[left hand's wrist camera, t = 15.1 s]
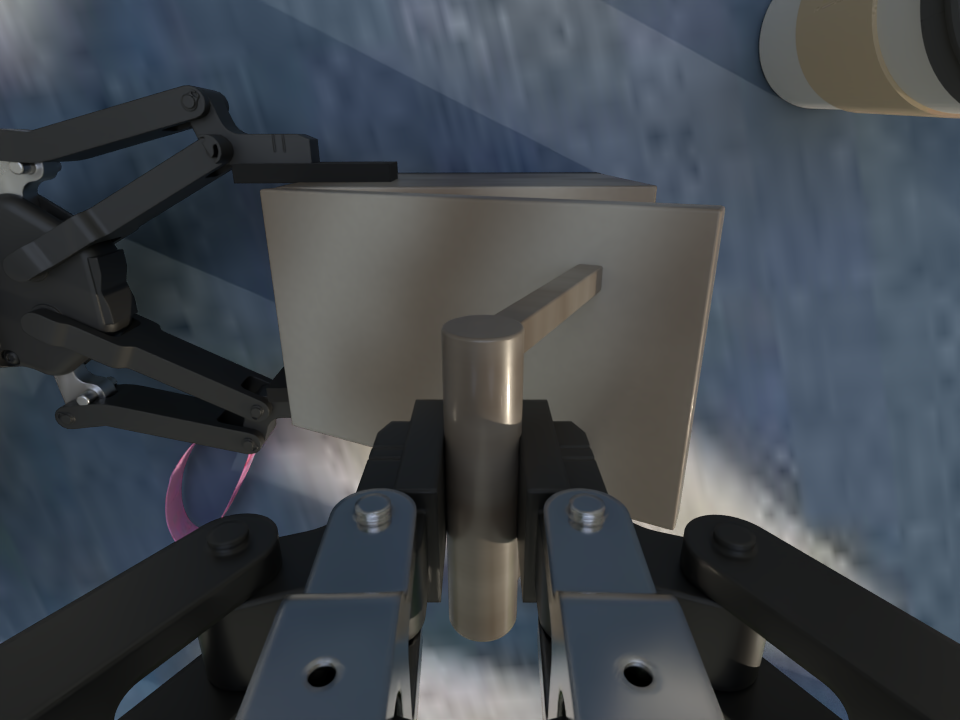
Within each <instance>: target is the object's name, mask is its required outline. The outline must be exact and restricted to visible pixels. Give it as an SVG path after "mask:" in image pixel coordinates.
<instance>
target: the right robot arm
mask: <svg viewBox="0 0 960 720" xmlns="http://www.w3.org/2000/svg"><path fill="white" fill-rule="evenodd" d="M228 111H229V105H228V101H227V100H226V98H225V96H223V95H222V94H221V93H220V92H217V91H214V90H209V89H204V88H199V87H194V86H190V85H187V86H181V87H177V88H174V89H170V90H167V91H164V92H160V93H157V94H154V95H150V96H147V97H143V98H140V99H137V100H133V101H130V102H127V103H123V104H120V105H116V106H113V107H110V108H106V109H103V110H100V111H96V112H93V113H89V114H86V115H83V116H79V117H76V118H73V119H69V120H66V121H62V122H59V123H56V124H52V125H49V126H45V127H42V128H39V129H35V130H26V129H0V368H2V367H16V366H24V367H29V368H33V369H35V370H38V371H40V372H42V373H45V374H48V375H53V376H54V377H55V379H56V382H57V384H58V387H59V389H60V392H61V394H62V396H63V399H64V401H65V405H63V406H62V407H60V408H59V409H58V410H57V411H56V413H55V418H56V421H57V422H58V424H60V425H61V426H62V427H64V428H67V429H78V428H88V427H98V426H110V427H115V428H120V429H125V430H130V431H135V432H140V433H145V434H150V435H155V436H160V437H165V438H170V439H175V440H180V441H185V442H190V443H195V444H200V445H205V446H210V447H215V448H220V449H225V450H230V451H235V452H240V453H245V454H255V453H257V452H258V451H259V450H260V449H261V447H262V446H263V444H264V443H265V441H266V440H267V438H268V437H269V435H270V434H271V432H272V431H273V430H274V428H275V426H276V419H277V418H291V412H290V404H289V397H288V390H287V383H286V376H285V368H284V367H283V368H282V369H281V370H280V372H279V373H278V374H277V375H276V377H275V378H274V379H273V380H272V379H270V378H267V377H265V376H263V375H261V374H258V373H256V372H254V371H252V370H249V369H247V368H245V367H243V366H240V365H238V364H236V363H234V362H231V361H229V360H227V359H225V358H222V357H220V356H218V355H216V354H213V353H211V352H209V351H207V350H204V349H202V348H200V347H198V346H195V345H193V344H191V343H189V342H186V341H184V340H182V339H180V338H177V337H175V336H173V335H171V334H168V333H166V332H164V331H162V330H161V328H160V326H159V325H158V324H157V323H155V322H153V321H151V320H149V319H146V318H144V317H142V316H140V315H137V314H135V313H137V312H138V311H137V307H136V302H135V298H134V296H133V294H132V292H131V290H130V288H129V286H128V284H127V282H126V274H127V264H126V260H125V255H124V251H123V250H117V248H116V246H115V245H114V244H115V243H117V242H118V241H120V240H122V239H123V238H125V237H126V236H128V235H130V234H131V233H133V232H135V231H136V230H137V229H138V227H139V226H141V225H143V224H144V223H146V222H147V221H149V220H151V219H152V218H154V217H156V216H157V215H159V214H160V213H162V212H164V211H165V210H167V209H169V208H170V207H172V206H173V205H175V204H177V203H178V202H180V201H182V200H183V199H185V198H186V197H188V196H190V195H191V194H193V193H195V192H196V191H198V190H199V189H201V188H203V187H204V186H206V185H208V184H209V183H211V182H212V181H214V180H216V179H217V178H219V177H221V176H222V175H224V174H225V173H227V172H229V171H230V170H232V172H233V178H234V183H298V182H392V181H394V180H396V179H398V169H397V162H320V158H319V148H318V139H315V138H313V137H311V136H308V135H305V134H247V133H244V132H242V131H241V130H239V129H238V128H237V126H236V125H235V124H234V122H233V120H232V118H231V116H230V114H229V112H228ZM192 128H193V130H194V132H195V134H196V135H197V137H198V139H199V140H197V141H196V142H194V143H193V144H191V145H190V146H188V147H186V148H185V149H183V150H182V151H180V152H178V153H177V154H175V155H174V156H172V157H171V158H169V159H167V160H166V161H164V162H163V163H161V164H160V165H158V166H156V167H155V168H153V169H152V170H150V171H148V172H147V173H145V174H144V175H142V176H141V177H139V178H137V179H136V180H134V181H133V182H131V183H130V184H128V185H126V186H125V187H123V188H122V189H120V190H118V191H117V192H115V193H114V194H112V195H111V196H109V197H107V198H106V199H104V200H103V201H101V202H99V203H98V204H96V205H95V206H93V207H92V208H90V209H88V210H86V211H83V212H81V213H78V214H76V215H72V214H71V213H69V212H67V211H66V210H64V209H63V208H61V207H59V206H58V205H56V204H54V203H53V202H51V201H49V200H48V199H46V198H45V197H43V196H41V195H39V194H38V190H37V189H38V186H39V184H40V183H41V182H43V181H46V180H51V179H53V178H55V176H56V175H57V172H59V171H60V170H61V163H60V162H64V161H78V160H84V159H88V158H92V157H95V156H99V155H102V154H106V153H109V152H113V151H116V150H119V149H123V148H126V147H130V146H133V145H137V144H140V143H144V142H147V141H150V140H154V139H157V138H161V137H164V136H168V135H171V134H175V133H178V132H182V131H185V130H188V129H192ZM120 335H121V336H120ZM91 359H92V360H95V361H97V362H100V363H102V364H104V365H107V366H109V367H112V368H129V369H132V370H134V371H136V372H139V373H141V374H143V375H146V376H148V377H151V378H153V379H155V380H158V381H160V382H162V383H165V384H167V385H169V386H172V387H174V388H176V389H179V390H181V391H183V392H186V393H188V394H190V395H193V396H195V397H193V396H188V395H183V394H179V393H174V392H169V391H164V390H159V389H155V388H150V387H145V386H139V385H131V384H119V385H117V381H116V379H115V378H113V377H107V378H105V377H101V376H96V375H93V374H92V373H90V372H89V371H88V370H87V368H86V367H85V364H87V363H88V362H89V361H90V360H91Z"/></svg>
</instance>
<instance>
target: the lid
mask: <svg viewBox="0 0 960 720" xmlns="http://www.w3.org/2000/svg"><path fill="white" fill-rule="evenodd" d="M260 196H261V203H262V210H263V217H264V224H265V232H266V239H267V246H268V253H269V260H270V268H271V275H272V282H273V289H274V296H275V304H276V311H277V318H278V325H279V332H280V340H281V347H282V354H283V361H284V368H285V376H286V383H287V390H288V397H289V404H290V412H291V419H292V424H293V425H294V426H297V427H301V428H304V429H308V430H312V431H315V432H319V433H322V434H326V435H330V436H333V437H337V438H341V439H344V440H348V441H351V442H355V443H359V444H362V445H366V446H369V447H373V444H374V441H375V438H376V436H377V433H378V432H379V431H380V430H381V429H383V428H384V427H385V426H386V425H387V424H389V423H390V422H391V421H410V420H411V416H412V412H413V408H414V404H415V401H416V399H443V418H444V448H445V484H446V520H447V558H448V593H449V618H450V622H451V624H452V626H453V627H454V629H455V630H456V631H457V632H458V633H459V634H460V635H462V636H463V637H465V638H467V639H470V640H473V641H479V642H486V641H493V640H496V639H499V638H501V637H503V636H504V635H506V634H507V633H508V632H509V631H510V630H511V628H512V627H513V625H514V623H515V621H516V615H517V581H518V579H519V577H520V566H519V555H518V544H517V516H518V481H519V446H520V436H521V434H522V404H523V399H547V401H548V404H549V408H550V412H551V416H552V419H553V421H572V422H573V423H574V424H576V425H577V426H578V427H579V428H580V429H582V430H583V431H584V432H585V433H586V436H587V438H588V441H589V444H590V449H592V452H593V454H594V460H596V463H597V465H598V468H599V471H600V473H601V476H602V479H603V482H604V484H605V487H606V490H607V492H608V494H609V495H611V496H613V497H615V498H616V499H618V500H619V501H620V502H621V503H622V504H624V506H625V507H626V508H627V510H628V512H629V514H630V517H631V519H633V520H637V521H640V522H644V523H648V524H651V525H655V526H659V527H662V528H666V529H669V530H673V529H674V528H675V525H676V521H677V518H678V514H679V509H680V502H681V496H682V489H683V483H684V476H685V470H686V463H687V457H688V450H689V443H690V437H691V430H692V424H693V417H694V411H695V404H696V397H697V391H698V384H699V378H700V371H701V365H702V358H703V352H704V345H705V338H706V332H707V325H708V319H709V312H710V306H711V299H712V292H713V286H714V279H715V273H716V266H717V260H718V253H719V247H720V240H721V233H722V227H723V220H724V214H725V207H724V206H721V205H696V204H672V203H647V202H623V201H598V200H573V199H549V198H524V197H500V196H475V195H450V194H426V193H401V192H377V191H352V190H327V189H303V188H270V189H262V190H260Z"/></svg>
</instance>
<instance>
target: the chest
mask: <svg viewBox="0 0 960 720" xmlns="http://www.w3.org/2000/svg"><path fill="white" fill-rule="evenodd" d="M276 188H303V189H327V190H352V191H377V192H401V193H426V194H450V195H475V196H500V197H524V198H549V199H573V200H598V201H623V202H647V203H655V200H656V190H657V187H656V186H655V185H650V184H645V183H641V182H636V181H631V180H627V179H622V178H618V177H613V176H608V175H604V174H601V173H597V172H529V173H398V179H396V180H394V181H392V182H298V183H293V184H289V185H284V186H280V187H276Z"/></svg>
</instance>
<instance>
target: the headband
mask: <svg viewBox="0 0 960 720" xmlns="http://www.w3.org/2000/svg"><path fill="white" fill-rule="evenodd" d="M194 445H195V443H193V444H192V445H191V446H190V447H189V449H188V450H187V451H186V452H185V454H184V455H183V456H182V458H181V459H180V461H179V463H178V464H177V466H176V468H175V469H174V471H173V472H172V475H171V477H170V480H169V486H168V490H167V495H166V504H165V512H166V520H167V525H168V528H169V531H170V533H171V535H172V537H173V539H174V540H175V542H176V541H177V540H179V539H181V538H182V537H184V536H186V535H187V534H189V533H191V532H193V531H194V530H196V529H198V528H199V527H197V526H195V525H194V524H193V523H192V522H191V521H190V520H189V518H188V516H187V515H186V512H185V510H184V506H183V502H182V493H181V486H182V477H183V472H184V468H185V465H186V462H187V459H188V457H189V455H190V453H191V451H192V449H193V447H194ZM254 455H255V454H249V455H248V458H247V461H246V464H245V467H244V469H243V472H242V474H241V477H240V479H239V481H238V484H237V486H236V488H235V490H234V493H233V495H232V497H231V499H230V501H229V503H228V505H227V507H226V509H225V511H224V513H223V515H222V517H223V516H224V515H225V513H226V512H227V510H228V509H229V507H230V505H231V504H232V502H233V500H234V498H235V496H236V494H237V492H238V490H239V488H240V486H241V484H242V482H243V480H244V478H245V476H246V474H247V472H248V469H249V467H250V465H251V463H252V460H253V458H254ZM222 517H221V518H222Z"/></svg>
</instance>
